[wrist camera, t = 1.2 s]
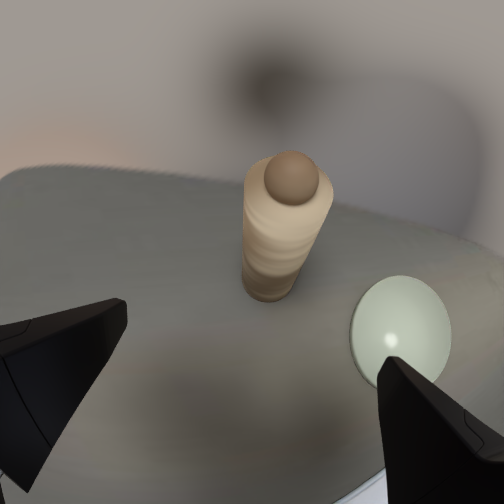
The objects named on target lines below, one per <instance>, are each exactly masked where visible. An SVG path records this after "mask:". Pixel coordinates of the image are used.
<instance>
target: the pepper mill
mask: <svg viewBox="0 0 504 504" xmlns="http://www.w3.org/2000/svg"><path fill="white" fill-rule="evenodd" d="M332 201H333V188H332V185H331V182H330V180H329V179H328V177H327V176H326V174H325V173H324V172H323V171H322V170H321V169H320V168H319V167H317V166H316V165H315V163H314V162H313V161H312V160H311V159H310V158H309V157H308V156H307V155H305V154H303V153H301V152H297V151H285V152H282V153H279V154H277V155H276V156H271V157H267V158H265V159H262V160H260V161H258V162H257V163H256V164H254V165H253V166H252V167H251V168H250V170H249V171H248V173H247V175H246V177H245V182H244V211H243V250H242V283H243V286H244V288H245V290H246V291H247V293H248V294H249V295H250V296H251V297H253V298H254V299H256V300H258V301H261V302H275V301H278V300H280V299H282V298H284V297H285V296H286V295H287V294H288V293H289V291H290V290H291V288H292V286H293V284H294V282H295V280H296V278H297V276H298V274H299V272H300V270H301V268H302V266H303V264H304V262H305V260H306V257H307V255H308V253H309V251H310V249H311V247H312V245H313V243H314V241H315V239H316V237H317V235H318V232H319V230H320V228H321V226H322V224H323V222H324V220H325V217H326V215H327V213H328V211H329V209H330V206H331V204H332Z"/></svg>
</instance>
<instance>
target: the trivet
mask: <svg viewBox="0 0 504 504" xmlns="http://www.w3.org/2000/svg"><path fill="white" fill-rule="evenodd" d="M349 340H350V348H351V353H352V357H353V359H354V362H355V364H356V366H357V368H358V370H359V372H360V373H361V375H362V376H363V377H364V379H365V380H366V381H367V382H368V383H369V384H371V385H372V386H373V387H374V388H376V389H377V375H378V372H379V371H380V369H381V367H382V365H383V363H384V361H385V359H386V358H387V357H388V356H398V357H400V358H401V359H403V360H404V361H405V362H406V363H408V364H409V365H410V366H411V367H413V368H414V369H415V370H417V371H418V372H419V373H420V374H422V375H423V376H424V377H425V378H427V379H428V380H429V381H430V382H432V383H433V382H434V381H435V380H436V379H437V377H438V376H439V375H440V373H441V372H442V370H443V369H444V367H445V365H446V362H447V360H448V357H449V353H450V348H451V326H450V320H449V317H448V314H447V311H446V309H445V307H444V305H443V303H442V301H441V300H440V298H439V297H438V295H437V294H436V293H435V292H434V291H433V290H432V289H431V288H430V287H429V286H428V285H426V284H425V283H423V282H422V281H420V280H418V279H415V278H413V277H408V276H392V277H388V278H386V279H383V280H381V281H379V282H378V283H376V284H375V285H374V286H373V287H371V288H370V289H369V290H368V291H367V292H366V293H365V294H364V295H363V296H362V298H361V299H360V300H359V302H358V304H357V306H356V308H355V310H354V313H353V315H352V319H351V323H350V332H349Z"/></svg>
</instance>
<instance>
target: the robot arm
mask: <svg viewBox="0 0 504 504" xmlns="http://www.w3.org/2000/svg"><path fill="white" fill-rule="evenodd" d="M127 322H128V320H127V304H126V302H125V301H124V300H121V299H118V298H112V299H108V300H104V301H101V302H97V303H93V304H89V305H85V306H81V307H77V308H73V309H69V310H65V311H61V312H57V313H53V314H49V315H45V316H41V317H37V318H33V319H32V320H31V319H28V320H24V321H20V322H16V323H11V324H6V325H0V478H1V477H2V475H3V474H5V475H6V476H7V477H8V478H9V479H11V480H12V481H13V482H14V483H15V484H16V485H18V486H19V487H20V488H21V489H22V490H24V491H25V492H26V493H28V492H29V490H30V489H31V487H32V485H33V483H34V481H35V479H36V477H37V475H38V474H39V472H40V470H41V468H42V466H43V465H44V463H45V461H46V459H47V457H48V456H49V454H50V452H51V450H52V448H53V447H54V445H55V443H56V442H57V440H58V438H59V437H60V435H61V433H62V432H63V430H64V428H65V427H66V425H67V423H68V422H69V420H70V419H71V417H72V415H73V414H74V412H75V411H76V409H77V407H78V406H79V404H80V403H81V401H82V400H83V398H84V396H85V395H86V393H87V392H88V390H89V389H90V387H91V386H92V384H93V383H94V381H95V380H96V378H97V377H98V375H99V374H100V372H101V371H102V369H103V368H104V366H105V365H106V363H107V362H108V360H109V358H110V357H111V355H112V353H113V351H114V349H115V347H116V345H117V344H118V342H119V340H120V338H121V336H122V334H123V332H124V331H125V329H126V327H127ZM377 393H378V412H379V422H380V428H381V436H382V443H383V451H384V460H385V470H386V482H387V497H388V504H504V437H503V436H501V435H500V434H499V433H497V432H496V431H494V430H493V429H491V428H490V427H488V426H487V425H485V424H484V423H483V422H481V421H480V420H479V419H477V418H476V417H475V416H473V415H472V414H471V413H470V412H468V411H467V410H466V409H464V408H463V407H462V406H461V405H459V404H458V403H457V402H456V401H454V400H453V399H452V398H451V397H449V396H448V395H447V394H446V393H444V392H443V391H442V390H441V389H439V388H438V387H437V386H436V385H434V384H433V383H432V382H430V381H429V380H428V379H427V378H425V377H424V376H423V375H422V374H420V373H419V372H418V371H417V370H415V369H414V368H413V367H411V366H410V365H409V364H408V363H406V362H405V361H404V360H403V359H401V358H400V357H398V356H388V357H387V358H386V359H385V361H384V363H383V365H382V367H381V369H380V371H379V372H378V375H377ZM0 504H5V501H4V497H3V493H2V488H1V484H0Z"/></svg>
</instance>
